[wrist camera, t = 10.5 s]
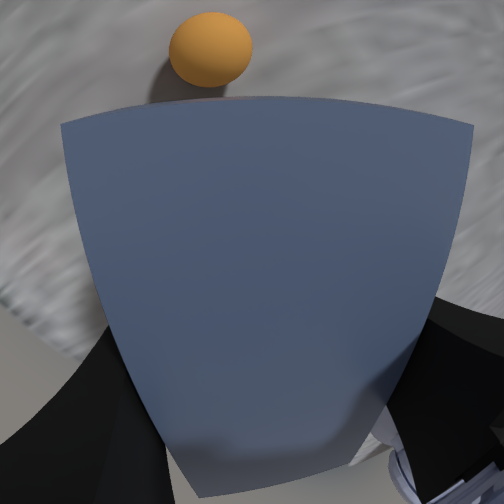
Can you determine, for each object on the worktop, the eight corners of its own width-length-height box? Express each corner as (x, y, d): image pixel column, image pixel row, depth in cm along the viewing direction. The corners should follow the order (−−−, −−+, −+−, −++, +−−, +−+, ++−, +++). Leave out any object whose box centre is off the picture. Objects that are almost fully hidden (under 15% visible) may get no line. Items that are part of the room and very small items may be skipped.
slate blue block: (305, 367, 14) (350, 462, 9) (183, 389, 13) (199, 498, 8) (330, 99, 8) (474, 125, 4) (130, 106, 7) (61, 124, 3)
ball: (257, -1, 9) (239, 25, 12) (165, 5, 9) (167, 31, 12) (266, 76, 11) (246, 88, 14) (171, 86, 10) (173, 97, 13)
